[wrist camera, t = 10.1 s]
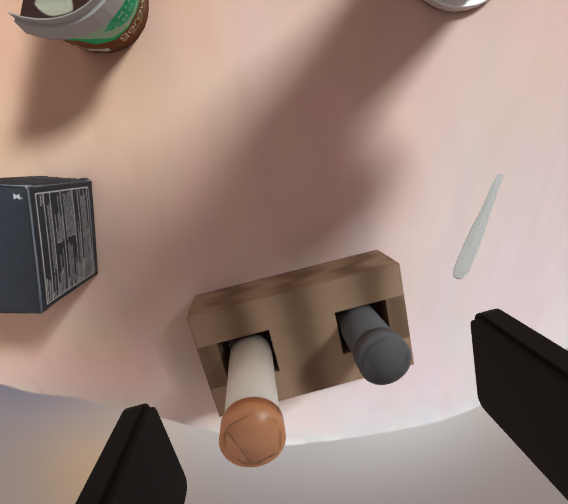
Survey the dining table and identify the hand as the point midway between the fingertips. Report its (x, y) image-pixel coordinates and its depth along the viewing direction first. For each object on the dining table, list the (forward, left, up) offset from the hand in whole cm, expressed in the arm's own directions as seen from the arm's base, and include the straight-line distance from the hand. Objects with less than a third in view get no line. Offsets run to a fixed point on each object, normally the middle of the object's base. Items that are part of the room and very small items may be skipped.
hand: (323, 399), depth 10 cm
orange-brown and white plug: (+5, +12, -24) cm, 28 cm away
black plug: (-7, +12, -29) cm, 32 cm away
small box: (+21, -5, -30) cm, 37 cm away
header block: (-1, +12, -30) cm, 32 cm away
